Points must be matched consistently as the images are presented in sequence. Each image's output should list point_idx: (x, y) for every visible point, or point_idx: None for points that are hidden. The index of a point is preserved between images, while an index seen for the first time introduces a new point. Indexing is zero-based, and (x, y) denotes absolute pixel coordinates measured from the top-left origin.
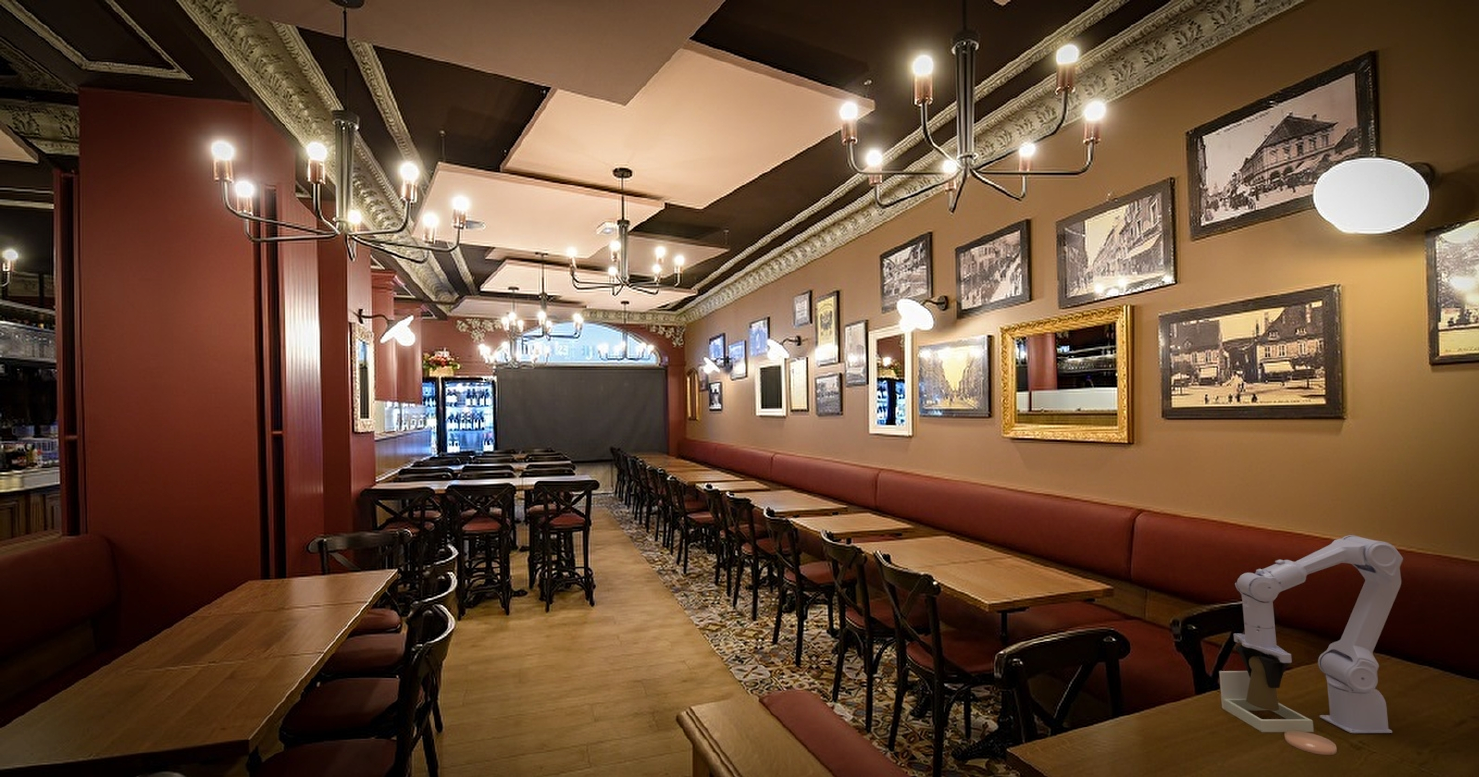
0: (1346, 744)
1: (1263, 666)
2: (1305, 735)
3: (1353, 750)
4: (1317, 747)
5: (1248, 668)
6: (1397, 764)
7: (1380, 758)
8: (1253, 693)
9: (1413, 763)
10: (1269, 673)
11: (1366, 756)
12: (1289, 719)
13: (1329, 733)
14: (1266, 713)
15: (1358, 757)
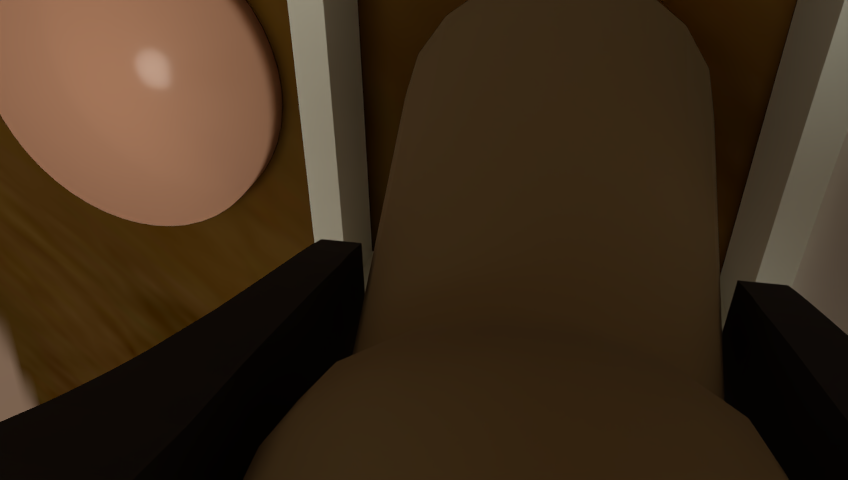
0: (195, 300)
1: (136, 468)
2: (195, 123)
3: (124, 272)
4: (3, 41)
5: (816, 375)
6: (17, 333)
7: (62, 317)
8: (523, 47)
9: None
10: (110, 373)
11: (64, 274)
12: (331, 168)
13: None
14: None
15: (37, 224)
